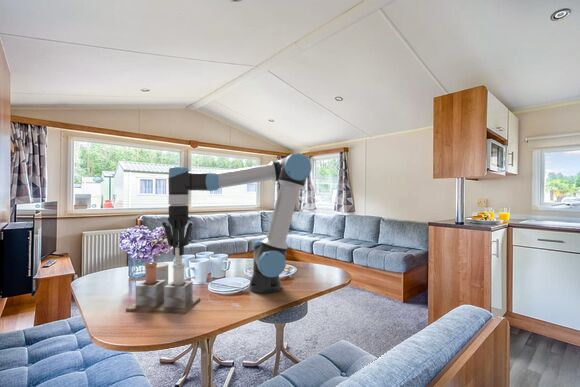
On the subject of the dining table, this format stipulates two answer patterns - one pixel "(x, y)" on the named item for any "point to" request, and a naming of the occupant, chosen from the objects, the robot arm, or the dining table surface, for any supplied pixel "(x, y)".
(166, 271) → the beige rectangular block
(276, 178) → the robot arm
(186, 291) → the socket board
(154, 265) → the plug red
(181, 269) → the plug cream
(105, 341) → the dining table surface
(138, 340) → the dining table surface
